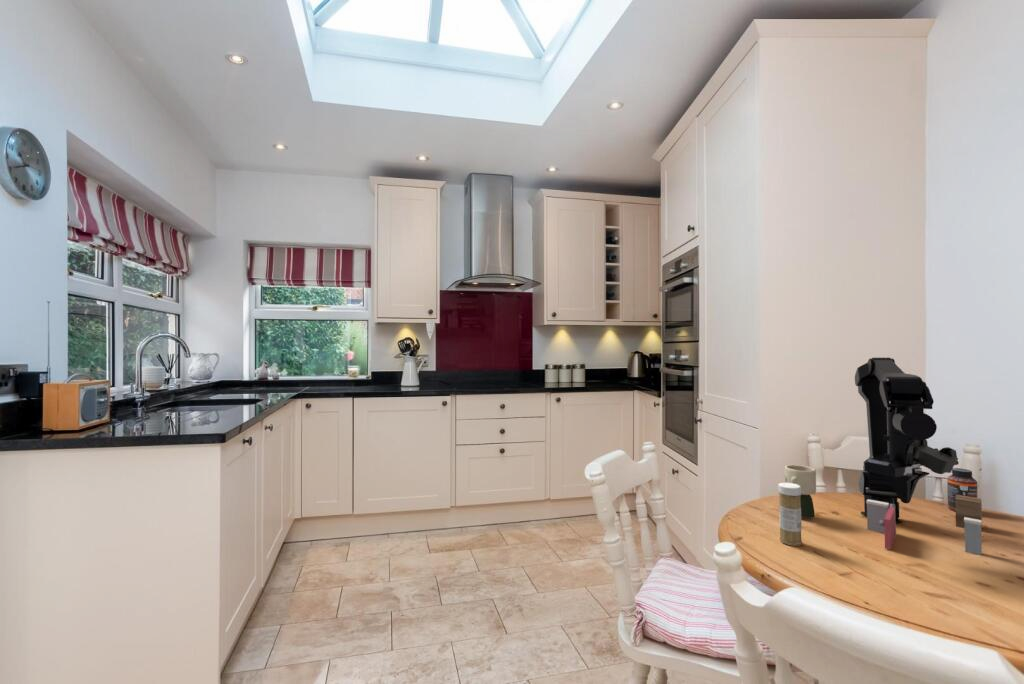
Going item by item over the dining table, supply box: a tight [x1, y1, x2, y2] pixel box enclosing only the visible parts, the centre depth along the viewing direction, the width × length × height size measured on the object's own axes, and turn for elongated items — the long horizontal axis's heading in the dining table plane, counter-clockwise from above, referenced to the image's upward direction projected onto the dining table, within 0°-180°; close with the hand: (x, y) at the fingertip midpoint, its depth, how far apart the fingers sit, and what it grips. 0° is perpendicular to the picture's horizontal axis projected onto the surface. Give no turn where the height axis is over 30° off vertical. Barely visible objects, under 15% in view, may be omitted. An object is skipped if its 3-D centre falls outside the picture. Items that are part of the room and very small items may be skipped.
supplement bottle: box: [946, 467, 978, 512], centre depth 127 cm, size 6×6×11 cm
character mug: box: [784, 464, 817, 519], centre depth 124 cm, size 11×7×13 cm, turn 129°
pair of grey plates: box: [866, 499, 983, 556], centre depth 108 cm, size 20×2×7 cm, turn 43°
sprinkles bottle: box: [777, 482, 803, 547], centre depth 107 cm, size 5×5×14 cm
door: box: [879, 507, 897, 550], centre depth 107 cm, size 11×2×6 cm, turn 136°
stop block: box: [955, 495, 983, 532], centre depth 116 cm, size 4×4×7 cm
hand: (905, 502), depth 103 cm, fingers closed
